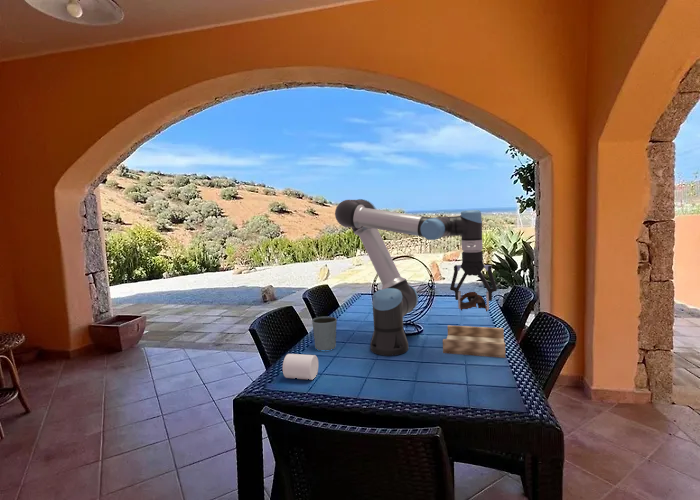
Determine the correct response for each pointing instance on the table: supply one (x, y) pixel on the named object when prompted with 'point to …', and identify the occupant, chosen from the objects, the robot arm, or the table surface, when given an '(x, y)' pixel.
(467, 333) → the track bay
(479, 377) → the table surface
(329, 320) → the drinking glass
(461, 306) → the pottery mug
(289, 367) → the white cylinder
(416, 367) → the table surface
